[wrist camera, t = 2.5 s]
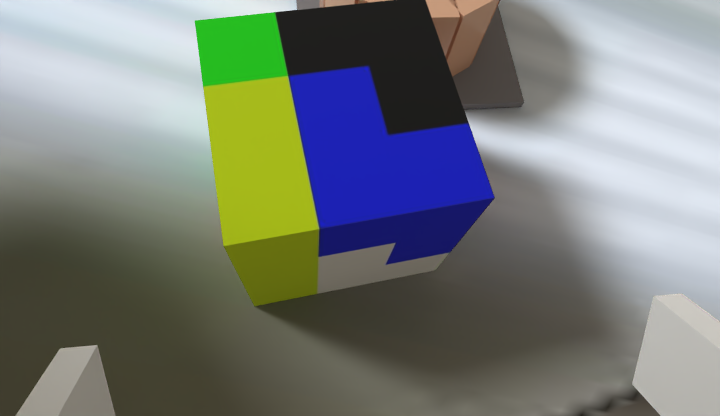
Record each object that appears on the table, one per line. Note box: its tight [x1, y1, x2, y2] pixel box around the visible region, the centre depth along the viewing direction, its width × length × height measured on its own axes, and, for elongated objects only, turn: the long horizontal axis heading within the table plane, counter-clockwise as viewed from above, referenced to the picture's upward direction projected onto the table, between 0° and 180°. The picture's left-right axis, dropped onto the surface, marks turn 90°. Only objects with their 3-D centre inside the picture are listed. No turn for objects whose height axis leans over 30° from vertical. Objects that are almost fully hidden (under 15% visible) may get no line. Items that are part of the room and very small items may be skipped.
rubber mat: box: [297, 0, 524, 109], centre depth 34 cm, size 14×14×1 cm
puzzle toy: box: [195, 0, 495, 306], centre depth 24 cm, size 10×10×10 cm
